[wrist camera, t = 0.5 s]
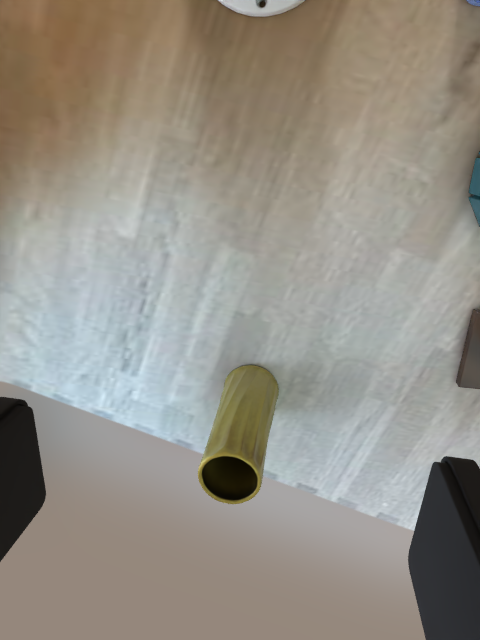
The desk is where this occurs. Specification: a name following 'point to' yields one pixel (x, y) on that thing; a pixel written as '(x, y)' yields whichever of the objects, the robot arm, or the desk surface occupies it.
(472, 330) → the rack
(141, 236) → the desk surface
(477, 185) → the ring
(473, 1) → the decorative dice
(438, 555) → the robot arm
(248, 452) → the vase
